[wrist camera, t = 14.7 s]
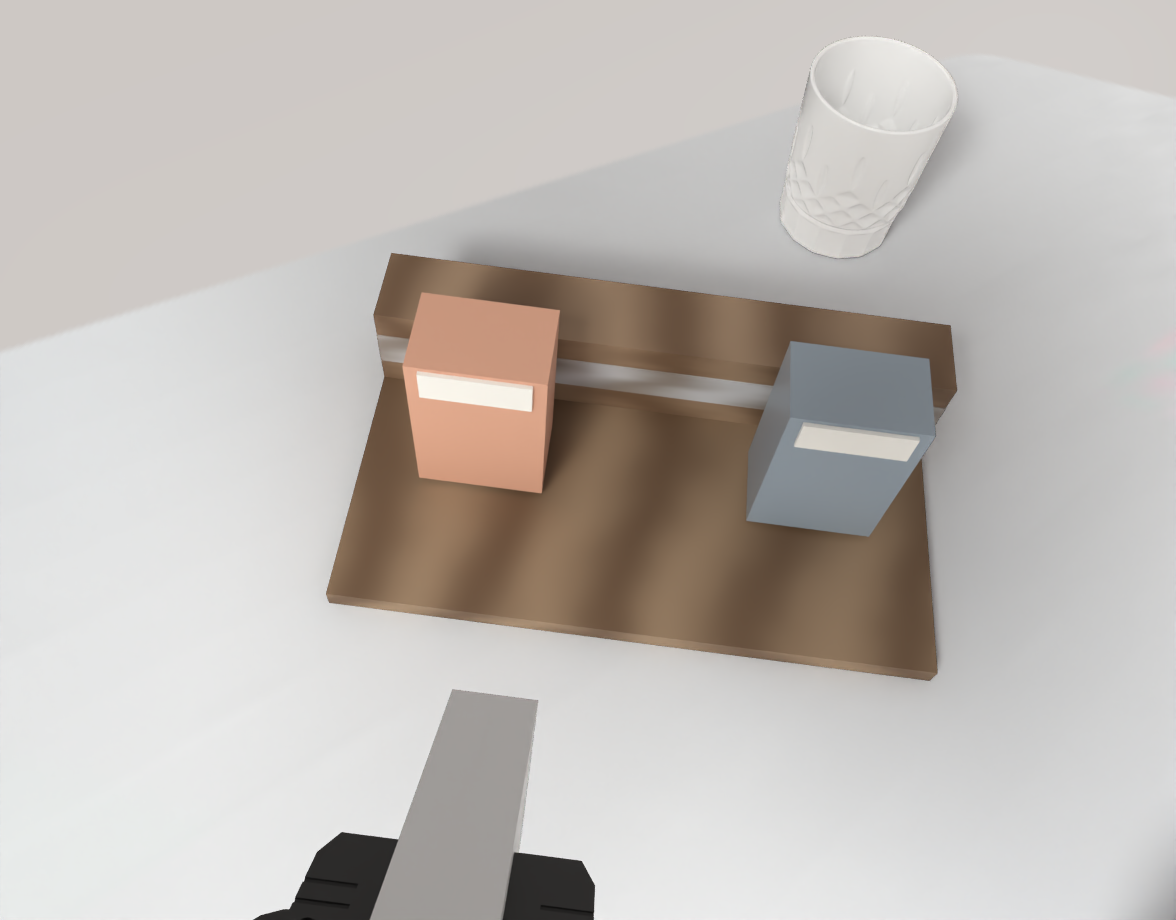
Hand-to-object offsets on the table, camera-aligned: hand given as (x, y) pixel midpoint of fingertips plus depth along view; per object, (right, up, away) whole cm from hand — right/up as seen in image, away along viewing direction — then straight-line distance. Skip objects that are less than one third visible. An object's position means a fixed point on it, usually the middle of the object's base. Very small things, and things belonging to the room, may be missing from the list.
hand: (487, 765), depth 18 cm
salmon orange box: (-3, +6, +32) cm, 33 cm away
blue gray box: (+13, +4, +32) cm, 35 cm away
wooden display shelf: (+5, +5, +34) cm, 34 cm away
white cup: (+17, +20, +44) cm, 52 cm away
